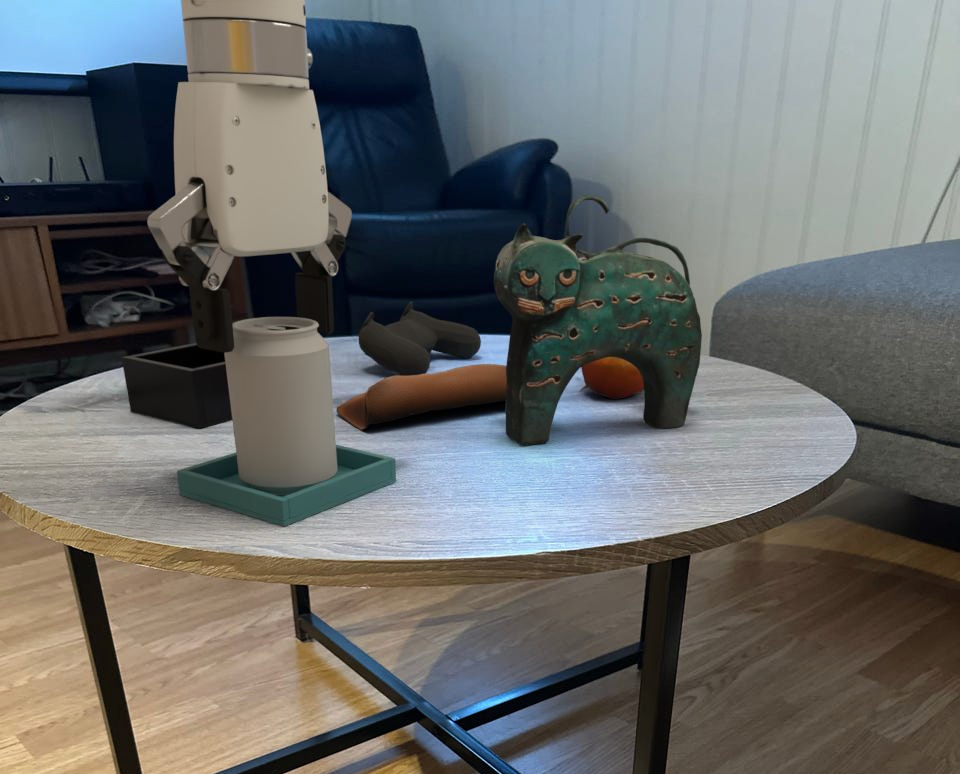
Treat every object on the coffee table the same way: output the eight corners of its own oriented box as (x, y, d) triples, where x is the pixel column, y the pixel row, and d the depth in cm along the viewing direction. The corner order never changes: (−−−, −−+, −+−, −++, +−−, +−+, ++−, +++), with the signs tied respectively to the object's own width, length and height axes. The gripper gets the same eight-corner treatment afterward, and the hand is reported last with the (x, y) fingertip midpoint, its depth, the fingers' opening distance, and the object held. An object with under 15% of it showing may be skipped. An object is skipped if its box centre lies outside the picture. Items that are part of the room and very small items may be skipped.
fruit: (602, 366, 105) (635, 307, 99) (644, 414, 103) (680, 356, 97) (550, 376, 101) (581, 314, 95) (593, 426, 98) (627, 367, 92)
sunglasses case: (483, 386, 100) (501, 336, 95) (514, 432, 98) (535, 383, 92) (329, 408, 92) (340, 354, 87) (358, 460, 89) (371, 408, 84)
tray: (284, 526, 65) (281, 500, 64) (179, 494, 71) (175, 470, 70) (396, 481, 74) (395, 458, 73) (295, 456, 80) (293, 434, 79)
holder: (199, 429, 87) (191, 371, 85) (130, 412, 92) (121, 357, 90) (279, 406, 94) (274, 352, 92) (211, 392, 100) (205, 341, 97)
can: (357, 477, 74) (348, 318, 68) (295, 505, 68) (279, 334, 62) (284, 462, 77) (269, 309, 71) (218, 488, 71) (197, 323, 66)
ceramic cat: (507, 452, 81) (513, 197, 72) (480, 432, 86) (481, 193, 77) (701, 429, 88) (729, 194, 78) (664, 413, 93) (687, 190, 84)
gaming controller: (469, 374, 119) (410, 326, 120) (491, 336, 115) (429, 287, 116) (403, 402, 106) (337, 349, 107) (425, 361, 102) (356, 305, 103)
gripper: (302, 71, 67) (315, 319, 75) (91, 49, 55) (133, 350, 63) (382, 70, 64) (386, 331, 72) (175, 46, 51) (208, 366, 59)
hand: (268, 339), depth 67 cm, fingers open, 9 cm apart
